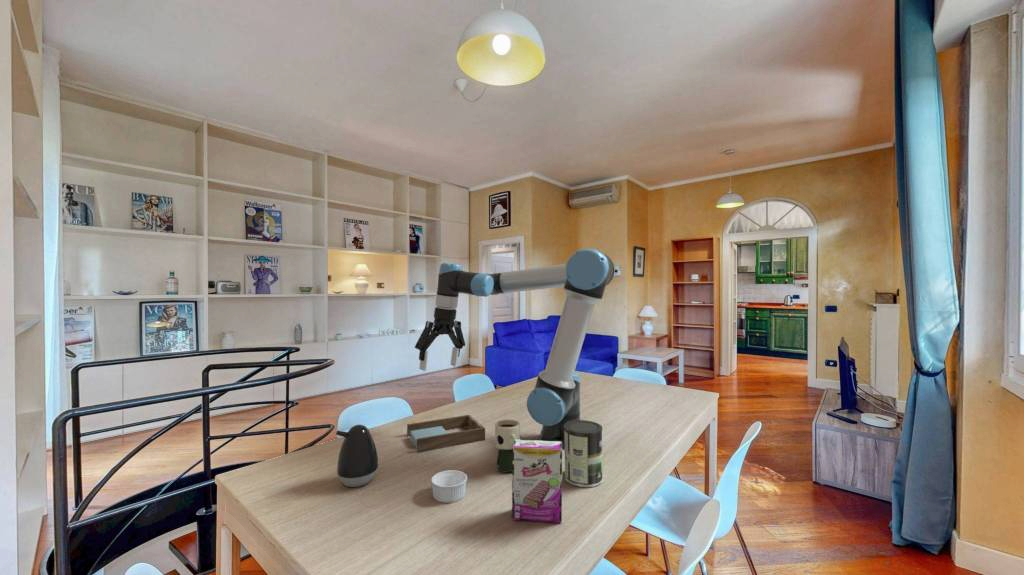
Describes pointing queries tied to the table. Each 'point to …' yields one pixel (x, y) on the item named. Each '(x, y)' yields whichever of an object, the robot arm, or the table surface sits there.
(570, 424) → the coffee can
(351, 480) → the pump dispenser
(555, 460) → the candy bar box
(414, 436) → the cover plate
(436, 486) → the ramekin
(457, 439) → the walnut box
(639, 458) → the table surface
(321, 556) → the table surface
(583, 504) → the table surface
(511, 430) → the character mug
